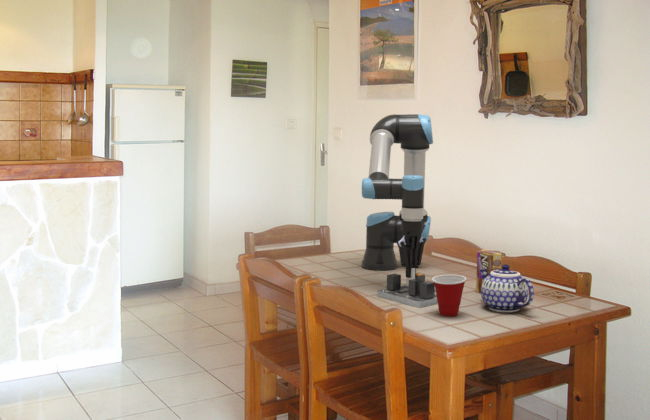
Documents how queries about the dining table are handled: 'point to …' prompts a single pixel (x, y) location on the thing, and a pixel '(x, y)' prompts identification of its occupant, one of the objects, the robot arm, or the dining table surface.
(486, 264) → the candy box
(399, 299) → the breaker panel
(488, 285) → the teapot
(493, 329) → the dining table surface
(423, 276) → the breaker
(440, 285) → the plastic cup
